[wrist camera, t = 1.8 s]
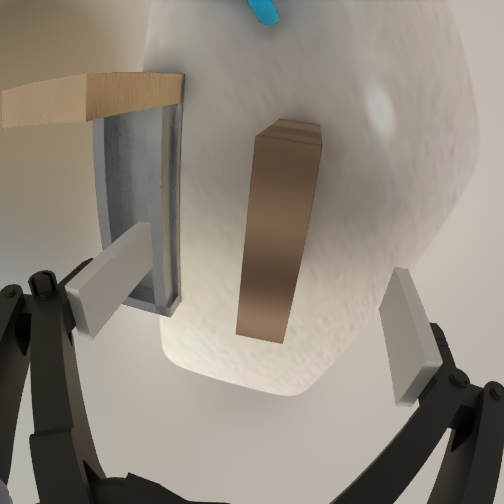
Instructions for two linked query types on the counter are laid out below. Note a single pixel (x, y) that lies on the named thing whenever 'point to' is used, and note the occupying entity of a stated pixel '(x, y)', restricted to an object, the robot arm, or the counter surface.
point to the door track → (123, 159)
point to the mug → (265, 11)
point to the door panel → (277, 226)
